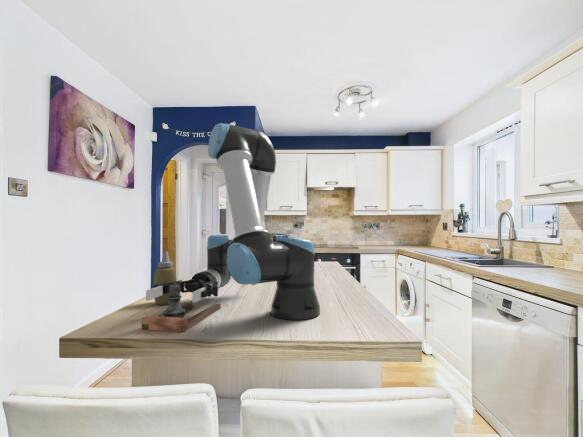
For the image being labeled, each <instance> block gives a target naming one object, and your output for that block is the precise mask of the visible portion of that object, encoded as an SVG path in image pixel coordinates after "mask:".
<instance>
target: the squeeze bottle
mask: <svg viewBox="0 0 583 437" xmlns="http://www.w3.org/2000/svg"><path fill="white" fill-rule="evenodd" d="M157 264H158V266H157V267H158V268H156V269H155V272H154V279H153V287H152V288H154V285H156V284H164V283H170V282H174V280H175V281H178V280H177V270H176V268H175V267H173V265H174V262H173V261H170V255H169V252H168V251H163V254H162V258H161V261H159V262H158V263H157ZM168 297H169V293H166V294H163V295H162V296H160V297H156V298H154V302H155V304H156V305H160V306H162V305H163V306H164V305H169V299H168Z"/></svg>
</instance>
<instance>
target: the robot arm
mask: <svg viewBox="0 0 583 437" xmlns="http://www.w3.org/2000/svg"><path fill="white" fill-rule="evenodd" d="M207 147H208V148H207V152H208V156H209V158H212V159H213V160H214V159H215V160H216V162H217V163H216V164H217V166H218V168H219V169H220V170H222V171H223V175H224V180H225V186H226V191H227V196H228V197H227V198H228V201H229V202H228V203H229V206H230V211H231V212H230V213H231V218H232V223H233V229H234V237H233V238H232V239H229V236H228V235H227V234H211V235H209V236H208V237H207V244H206V253H207V254H206V258H207V264H206V270H203V271H199V272H197V273H195V274H194V275H193V276H192V277H191V279H188V280H182V279H181V280H177V281H176V283H177V284H179V285H180V293H182V294H184V293H192V294H191V295H192V298H191V299H192V301H191V302H193V304H194V303H197V302H199V301H201V300H203V299H205V298H207V297H208V298H209V297H212V295H213V297H218V296H219V289H220V288H223V287H224V286H227V285H228V284H229V283H230V282H231V279H233V280H234V281H235V282H236V283H237V284H239V285H243V286H244V285H247V286H248V285H251V286H256V285H257V284H266V283H271V282H272V283H273V282H276V289H275V293H274V295H273V300H272V302H271V305H270V314H271V315H272V317H275V318H279V319H283V320H290V321H291V320H292V321H294V320H295V321H299V320H300V321H303V320H309V319H310V320H311V319H313V318H316V317H318V316H320V314H321V306H320V302H319V299H318V296H317V293H316V289H315V255H316V254H315V247H314V246H315V245H314V243H313V241H312V240H309V239H302V238H296V237H295V238H294V237H285V236H284V237H283V236H278V237H277V238H276V241H273V240H272V236H271V235H272V234H271V233H270V231H268V230H266V229H265V228H264V218H265V211H266V208H267V207H266V206H267V201H268V200H267V199H268V195H269V189H270V184H271V178H272V175H273V174H275V172H276V171H275V170H276V168H277V167H276V165H277V158H276V152H275V148H274V145H273V143H272V141H271V140H270V138H269V136H267V135H266V134H265V133H264V132H262V131H261V130H258V129H253V128H247V127H244V126H238V125H234V124H230V123H222V122H220V123H217V124H215V125H214V127H213V128H212V131H211V133H210V137H209V141H208V146H207ZM173 283H174V282H170V283H164V284H156V285H154V284H153V287H154V288H153V287H152V288H149V289H146V290H145V301H151V300H153V299H154V298H156V297H160V296H162V295H163V294H166V293H169V286H170V285H171V284H173ZM154 300H155V299H154Z"/></svg>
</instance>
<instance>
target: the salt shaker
mask: <svg viewBox="0 0 583 437" xmlns="http://www.w3.org/2000/svg"><path fill="white" fill-rule="evenodd" d="M181 298H182V295H181V292H180V285H179V284H177V283H176V281H175V280H174V283H173V284H171V285H170V286H169V297H168V299H169V304H168V307H167V309H165V310H163V312H162V314H164V317H179V318H184V316H185V313H186V311H187V310H185V309H183V308H181V305H182V304H181Z"/></svg>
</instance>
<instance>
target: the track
mask: <svg viewBox="0 0 583 437" xmlns="http://www.w3.org/2000/svg"><path fill="white" fill-rule="evenodd" d="M180 305H181V308H183V309H185V310H186V311H188V310H190V309H191V308H194V302H192V301H191V302H190V301H186V302H184V303H182V304H180ZM221 308H222V306H221V303H213V304H211V305H210V306H208V307H206V308H204V309H203V310H201V311H200V312H198V313H196V314H193V316H190V317H189V318H188V317H183V318H179V317H164V314H163V313H162V314H159V315H144V316H143V317H141V330H142V331H143V330H145V331H146V330H147V331H157V332H158V331H159V332H176V333H185V332H186V331H188V330H189V329H191V328H192V327H194V326H196V325H197V324H199V323H200V322H202V321H203V320H205V319H207V318H208V317H209V316H211V315H213V314H214V313H216V312H217V311H218V310H220V309H221Z"/></svg>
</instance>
